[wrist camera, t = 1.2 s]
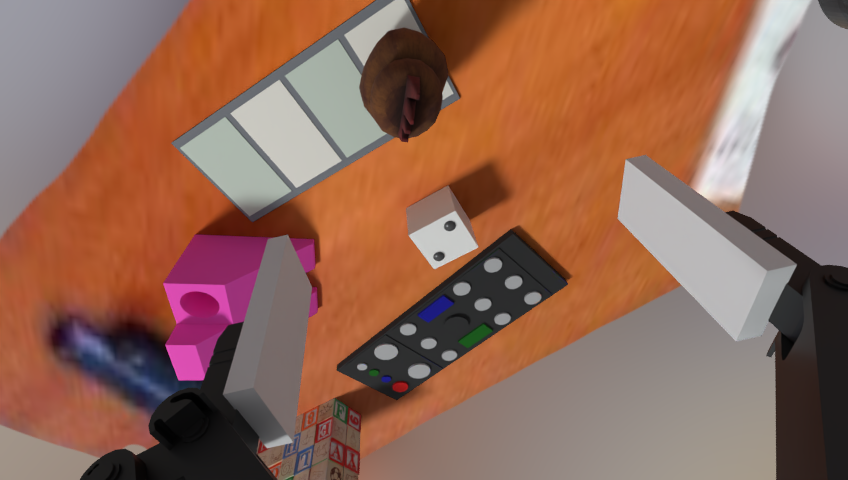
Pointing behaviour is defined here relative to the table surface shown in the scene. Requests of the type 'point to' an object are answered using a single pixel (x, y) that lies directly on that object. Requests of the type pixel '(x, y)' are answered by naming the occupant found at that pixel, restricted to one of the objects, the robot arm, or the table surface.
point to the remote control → (455, 317)
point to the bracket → (216, 294)
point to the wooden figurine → (404, 83)
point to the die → (440, 228)
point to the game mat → (299, 117)
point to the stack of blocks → (319, 446)
